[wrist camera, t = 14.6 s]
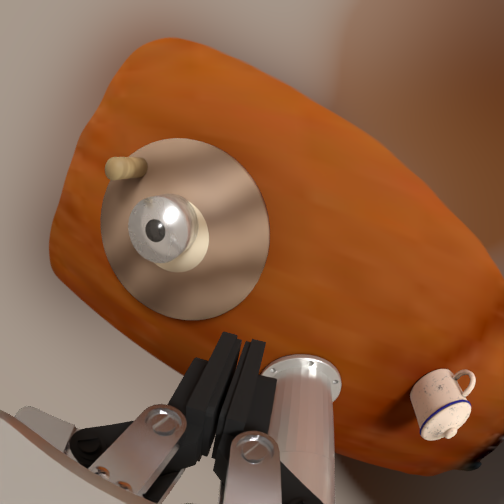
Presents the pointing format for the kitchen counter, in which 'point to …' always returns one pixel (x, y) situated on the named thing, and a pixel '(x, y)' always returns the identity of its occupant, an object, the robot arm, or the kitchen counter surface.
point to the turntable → (209, 232)
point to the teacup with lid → (441, 403)
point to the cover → (163, 227)
